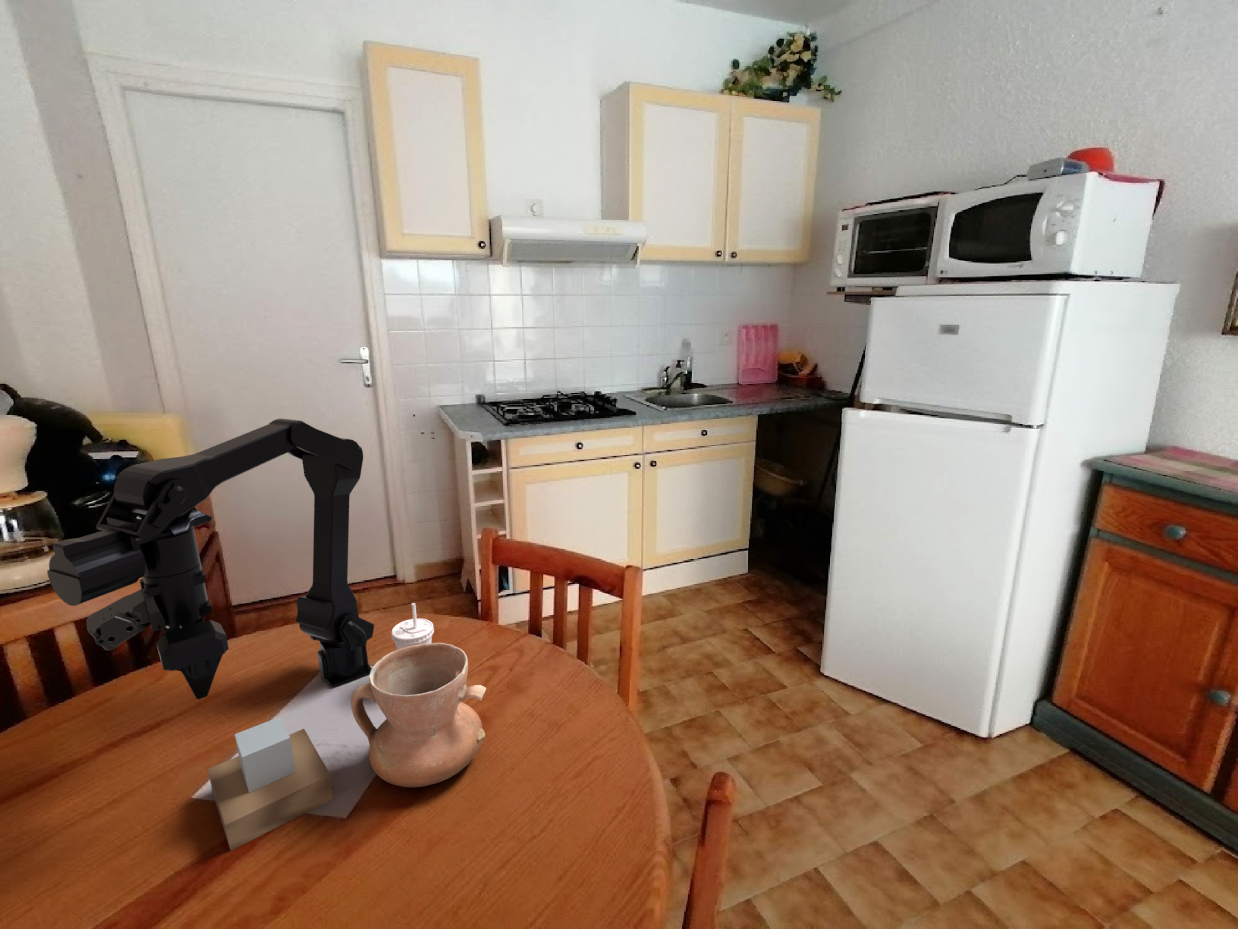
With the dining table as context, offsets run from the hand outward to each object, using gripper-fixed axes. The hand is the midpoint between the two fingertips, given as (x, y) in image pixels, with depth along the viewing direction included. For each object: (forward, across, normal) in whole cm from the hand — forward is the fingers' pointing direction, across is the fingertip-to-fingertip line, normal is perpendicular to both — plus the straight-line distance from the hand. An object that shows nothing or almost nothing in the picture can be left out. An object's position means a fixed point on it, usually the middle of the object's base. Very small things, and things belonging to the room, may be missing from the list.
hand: (195, 680), depth 76 cm
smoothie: (+13, +1, +28) cm, 31 cm away
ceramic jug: (+13, +18, +21) cm, 31 cm away
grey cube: (+9, +11, +4) cm, 15 cm away
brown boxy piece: (+13, +11, +4) cm, 18 cm away
